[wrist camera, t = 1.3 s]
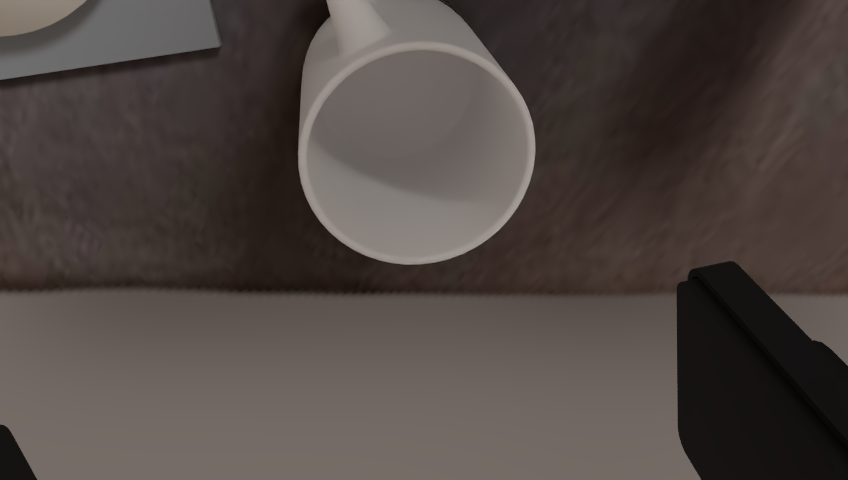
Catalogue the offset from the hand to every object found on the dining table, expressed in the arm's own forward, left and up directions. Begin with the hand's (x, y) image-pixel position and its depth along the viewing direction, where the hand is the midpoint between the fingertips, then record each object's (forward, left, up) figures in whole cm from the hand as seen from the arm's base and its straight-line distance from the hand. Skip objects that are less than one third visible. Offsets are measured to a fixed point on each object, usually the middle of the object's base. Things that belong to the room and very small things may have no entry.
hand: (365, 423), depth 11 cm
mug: (+2, +2, -28) cm, 29 cm away
